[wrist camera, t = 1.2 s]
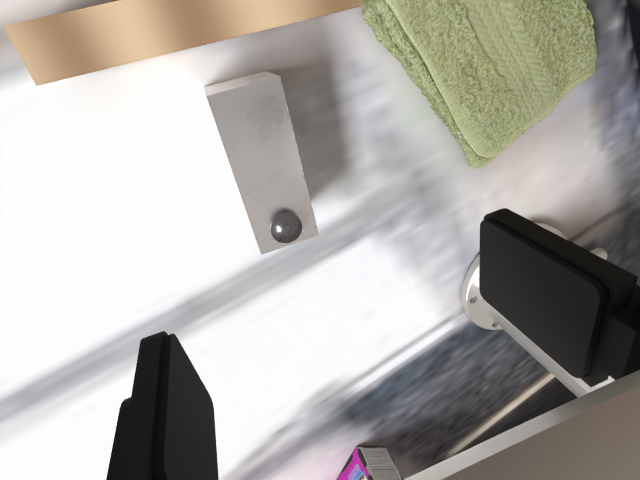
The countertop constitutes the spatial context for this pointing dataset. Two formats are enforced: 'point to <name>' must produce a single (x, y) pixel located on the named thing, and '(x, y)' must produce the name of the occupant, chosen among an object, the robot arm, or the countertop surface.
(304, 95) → the countertop surface
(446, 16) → the washcloth
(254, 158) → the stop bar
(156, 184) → the countertop surface
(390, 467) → the candy bar box
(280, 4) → the rail
